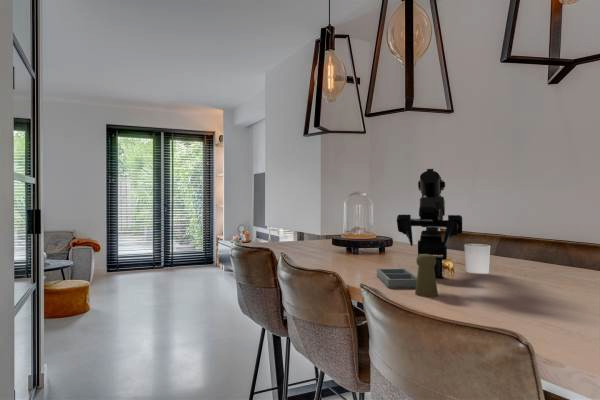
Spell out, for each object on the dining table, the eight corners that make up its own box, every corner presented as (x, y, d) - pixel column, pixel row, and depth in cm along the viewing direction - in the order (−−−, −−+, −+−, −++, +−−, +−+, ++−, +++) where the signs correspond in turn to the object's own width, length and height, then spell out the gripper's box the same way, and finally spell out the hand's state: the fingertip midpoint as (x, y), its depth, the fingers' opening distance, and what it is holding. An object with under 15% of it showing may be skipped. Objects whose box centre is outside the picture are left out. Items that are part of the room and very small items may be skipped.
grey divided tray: (405, 276, 142) (405, 268, 142) (421, 287, 123) (420, 279, 123) (376, 276, 142) (376, 268, 141) (388, 288, 123) (388, 279, 123)
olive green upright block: (439, 297, 112) (439, 256, 112) (415, 296, 113) (415, 255, 113) (436, 292, 118) (436, 253, 118) (414, 291, 119) (414, 252, 119)
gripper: (397, 188, 129) (392, 226, 119) (462, 187, 123) (462, 228, 113) (400, 212, 137) (396, 250, 127) (462, 213, 130) (462, 253, 120)
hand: (427, 245), depth 121 cm, fingers open, 9 cm apart
